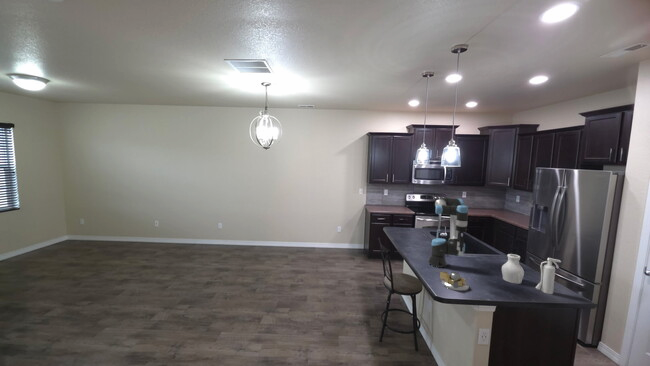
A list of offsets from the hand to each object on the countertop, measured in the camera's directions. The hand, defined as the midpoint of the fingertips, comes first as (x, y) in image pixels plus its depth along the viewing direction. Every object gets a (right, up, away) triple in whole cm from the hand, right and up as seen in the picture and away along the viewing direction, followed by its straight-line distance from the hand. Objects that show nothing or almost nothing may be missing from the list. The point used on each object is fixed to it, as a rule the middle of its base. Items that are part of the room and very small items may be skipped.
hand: (459, 252), depth 198 cm
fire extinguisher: (+55, -24, -14) cm, 62 cm away
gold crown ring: (-9, -20, -7) cm, 23 cm away
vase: (+43, -23, +3) cm, 49 cm away
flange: (-8, -22, -8) cm, 25 cm away
